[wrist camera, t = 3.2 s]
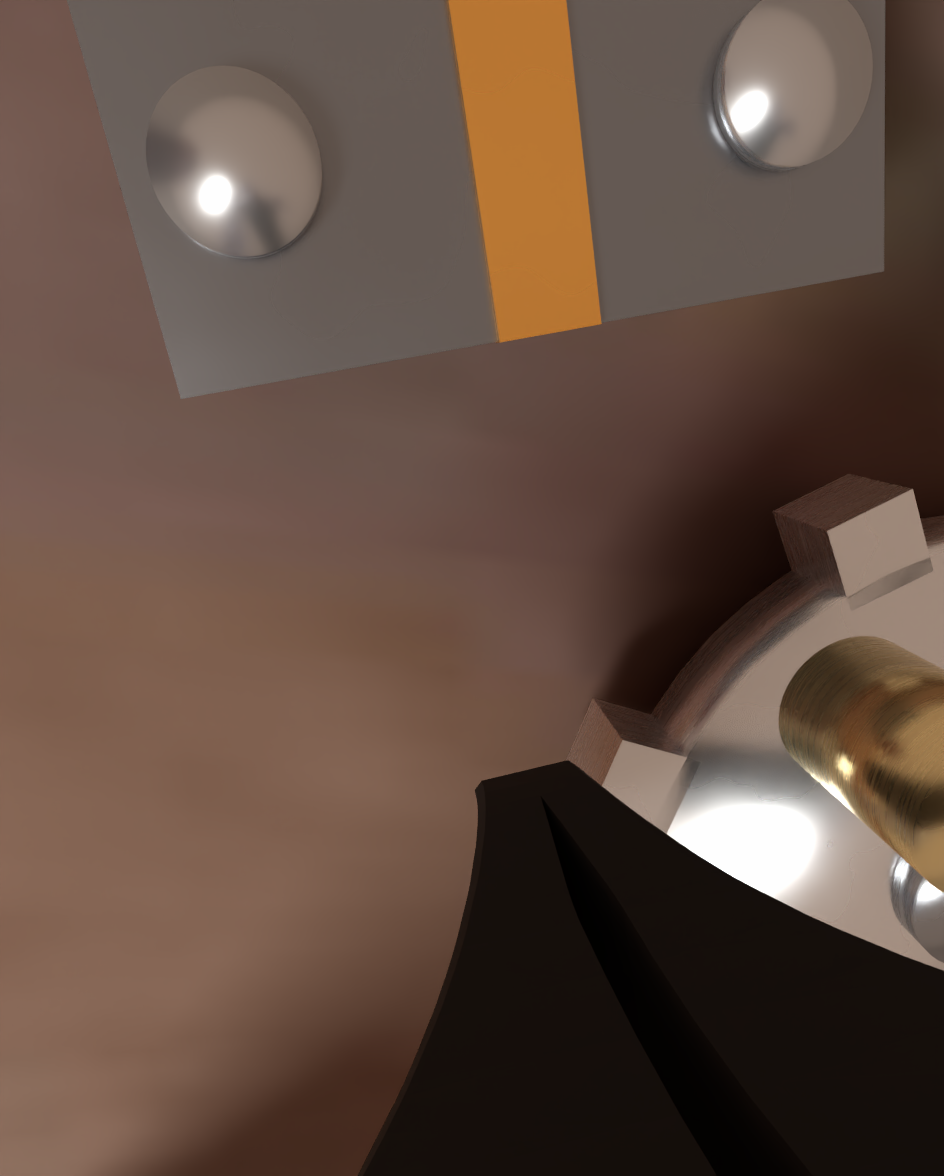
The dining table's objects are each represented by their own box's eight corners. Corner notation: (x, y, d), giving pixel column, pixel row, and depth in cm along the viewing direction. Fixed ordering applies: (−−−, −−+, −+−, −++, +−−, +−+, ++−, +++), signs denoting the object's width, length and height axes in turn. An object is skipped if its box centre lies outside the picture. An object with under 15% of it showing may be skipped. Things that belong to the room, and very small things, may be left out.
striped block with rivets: (250, 382, 12) (175, 401, 7) (185, 126, 11) (35, -81, 6) (678, 304, 12) (900, 270, 7) (660, 55, 11) (907, -185, 6)
